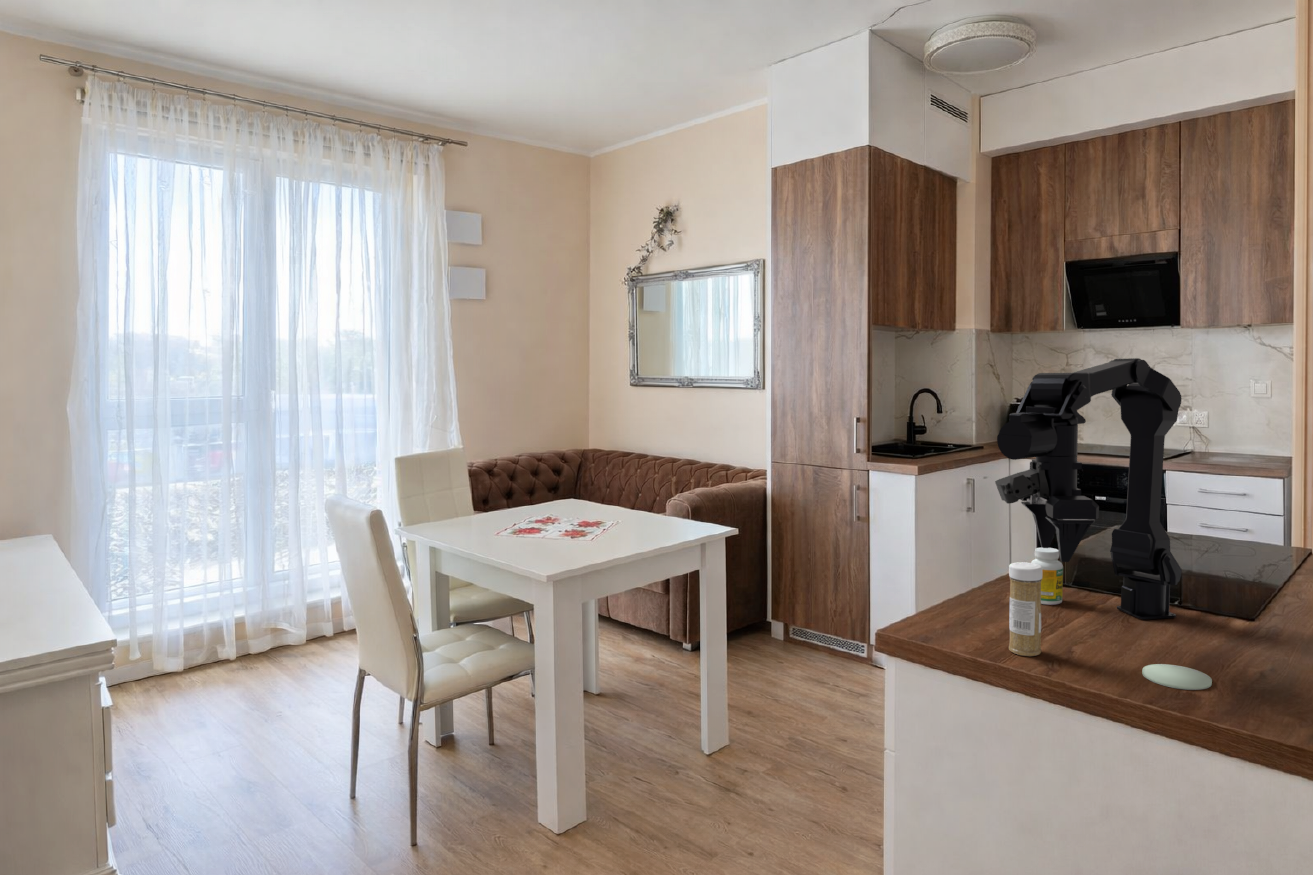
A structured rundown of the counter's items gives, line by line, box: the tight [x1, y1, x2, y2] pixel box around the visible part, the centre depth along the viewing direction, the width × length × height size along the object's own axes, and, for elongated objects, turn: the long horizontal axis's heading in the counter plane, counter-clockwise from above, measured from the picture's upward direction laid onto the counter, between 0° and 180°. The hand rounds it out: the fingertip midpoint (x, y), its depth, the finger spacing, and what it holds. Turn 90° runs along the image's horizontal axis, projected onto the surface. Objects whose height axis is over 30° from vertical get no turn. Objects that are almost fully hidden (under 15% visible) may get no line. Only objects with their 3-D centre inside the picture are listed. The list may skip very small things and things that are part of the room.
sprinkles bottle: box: [1008, 561, 1042, 657], centre depth 121 cm, size 5×5×14 cm
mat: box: [1141, 663, 1213, 691], centre depth 110 cm, size 8×8×1 cm
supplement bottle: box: [1030, 547, 1064, 606], centre depth 147 cm, size 5×5×10 cm
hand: (1054, 554), depth 125 cm, fingers open, 9 cm apart
